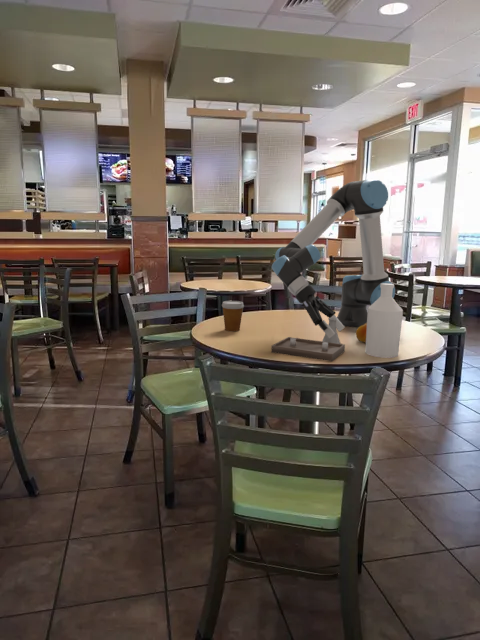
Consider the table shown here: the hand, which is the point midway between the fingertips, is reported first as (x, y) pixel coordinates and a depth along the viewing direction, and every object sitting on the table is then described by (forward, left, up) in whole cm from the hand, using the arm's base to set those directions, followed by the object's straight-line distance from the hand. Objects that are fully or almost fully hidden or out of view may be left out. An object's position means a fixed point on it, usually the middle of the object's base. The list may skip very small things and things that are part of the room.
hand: (337, 332), depth 178 cm
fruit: (-13, -1, -5) cm, 14 cm away
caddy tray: (+16, +7, -5) cm, 18 cm away
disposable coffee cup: (+32, -34, -5) cm, 46 cm away
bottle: (-9, +15, -5) cm, 19 cm away
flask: (+2, -2, -5) cm, 5 cm away
